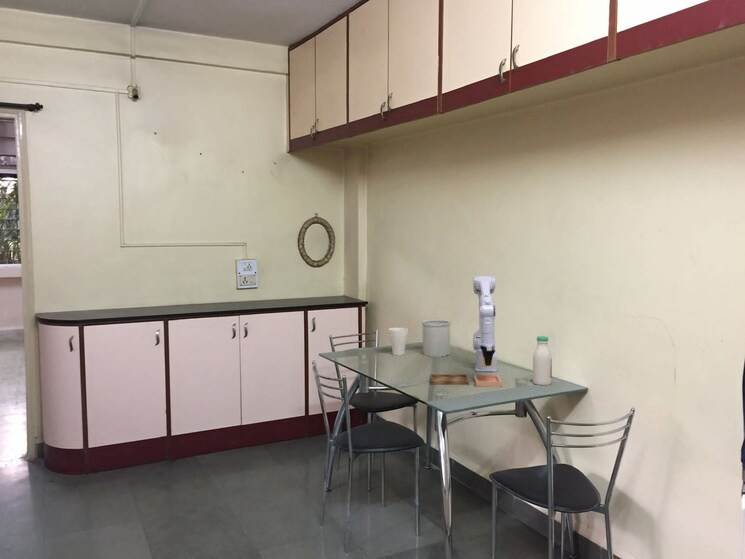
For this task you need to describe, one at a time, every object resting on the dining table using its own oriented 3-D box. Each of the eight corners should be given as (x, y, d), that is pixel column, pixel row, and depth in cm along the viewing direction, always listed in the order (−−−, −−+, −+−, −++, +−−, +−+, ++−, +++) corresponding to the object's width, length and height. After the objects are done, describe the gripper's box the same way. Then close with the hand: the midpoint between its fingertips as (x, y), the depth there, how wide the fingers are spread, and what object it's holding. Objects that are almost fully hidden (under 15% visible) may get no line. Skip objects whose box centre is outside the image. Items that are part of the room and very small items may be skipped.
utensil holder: (448, 357, 315) (448, 323, 314) (419, 356, 320) (419, 323, 318) (452, 352, 330) (452, 319, 328) (425, 350, 334) (425, 318, 332)
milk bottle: (548, 386, 257) (549, 339, 256) (530, 384, 262) (530, 337, 260) (553, 382, 264) (554, 336, 262) (535, 380, 268) (536, 334, 266)
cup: (389, 352, 332) (389, 327, 331) (409, 352, 331) (408, 327, 329) (387, 356, 322) (387, 330, 320) (407, 356, 320) (407, 330, 319)
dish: (497, 379, 270) (497, 374, 270) (501, 386, 258) (501, 382, 258) (473, 379, 271) (473, 374, 271) (476, 386, 259) (476, 381, 259)
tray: (466, 377, 274) (466, 374, 274) (469, 384, 262) (469, 381, 262) (430, 377, 275) (430, 374, 275) (431, 384, 263) (431, 381, 263)
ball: (492, 365, 266) (492, 354, 266) (493, 368, 261) (493, 357, 261) (481, 365, 266) (481, 354, 266) (482, 368, 262) (482, 357, 261)
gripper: (476, 329, 270) (476, 360, 271) (479, 335, 256) (479, 367, 257) (492, 329, 270) (492, 360, 271) (496, 335, 255) (496, 368, 256)
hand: (487, 364), depth 264 cm, fingers closed on ball, 5 cm apart
